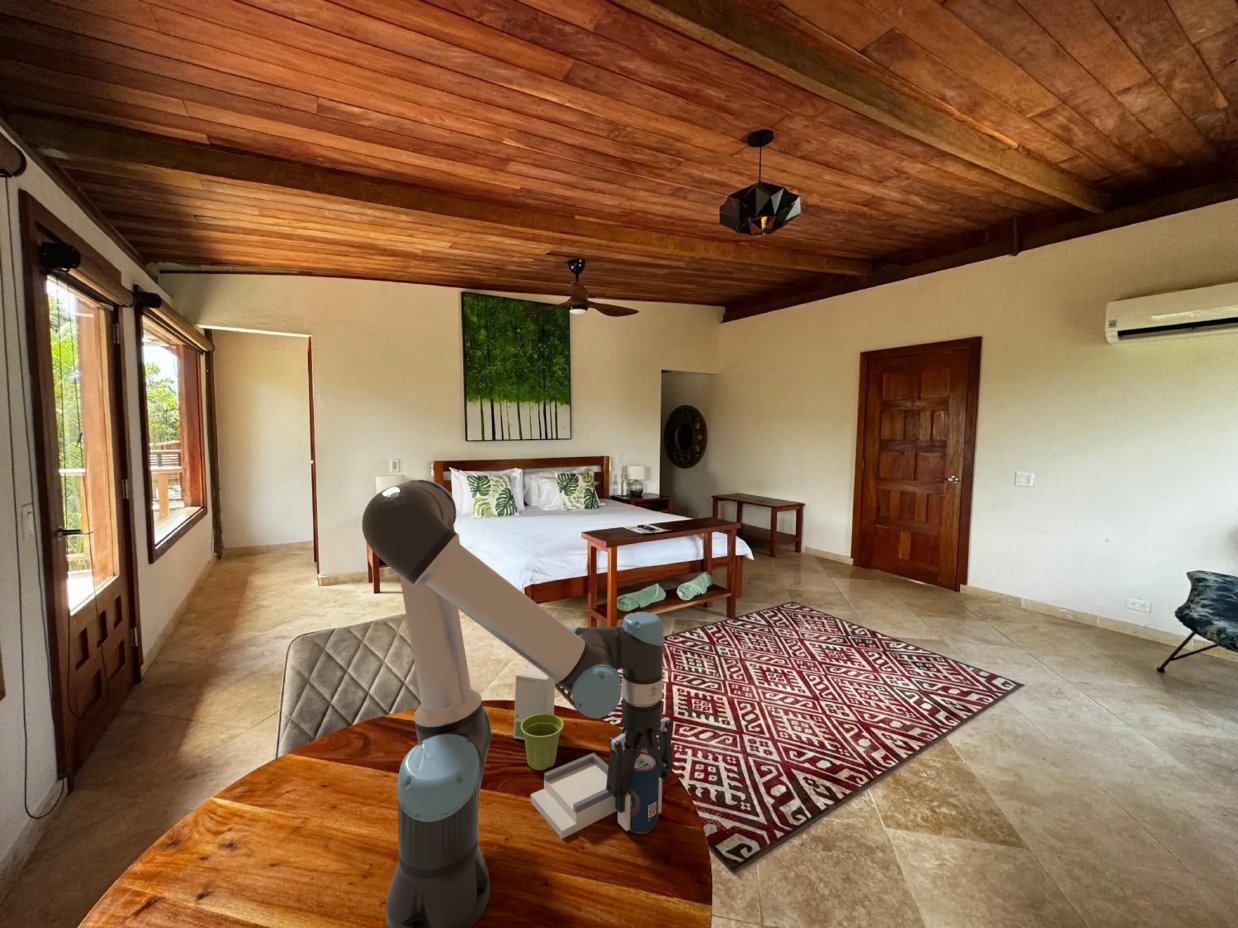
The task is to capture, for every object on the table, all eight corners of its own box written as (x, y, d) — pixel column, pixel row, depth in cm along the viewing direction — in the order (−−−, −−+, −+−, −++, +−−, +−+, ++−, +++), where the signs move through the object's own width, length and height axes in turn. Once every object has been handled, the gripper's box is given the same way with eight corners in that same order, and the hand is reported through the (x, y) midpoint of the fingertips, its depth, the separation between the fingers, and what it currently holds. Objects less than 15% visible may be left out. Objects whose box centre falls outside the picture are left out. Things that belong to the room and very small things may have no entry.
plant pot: (566, 751, 122) (567, 714, 121) (558, 777, 113) (558, 737, 112) (527, 748, 123) (527, 711, 122) (515, 773, 113) (515, 734, 113)
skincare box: (512, 738, 127) (513, 675, 126) (523, 724, 133) (524, 663, 132) (545, 743, 125) (546, 679, 124) (555, 729, 131) (556, 667, 130)
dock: (561, 838, 95) (562, 813, 95) (530, 801, 105) (530, 778, 105) (627, 805, 104) (628, 782, 104) (593, 773, 114) (593, 752, 114)
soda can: (613, 819, 100) (614, 758, 100) (641, 804, 105) (642, 745, 104) (637, 841, 95) (638, 777, 94) (665, 824, 99) (667, 762, 99)
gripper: (610, 723, 90) (608, 853, 91) (694, 691, 102) (691, 806, 103) (586, 705, 96) (584, 827, 97) (668, 676, 108) (665, 786, 109)
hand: (639, 816), depth 100 cm, fingers closed on soda can, 7 cm apart
